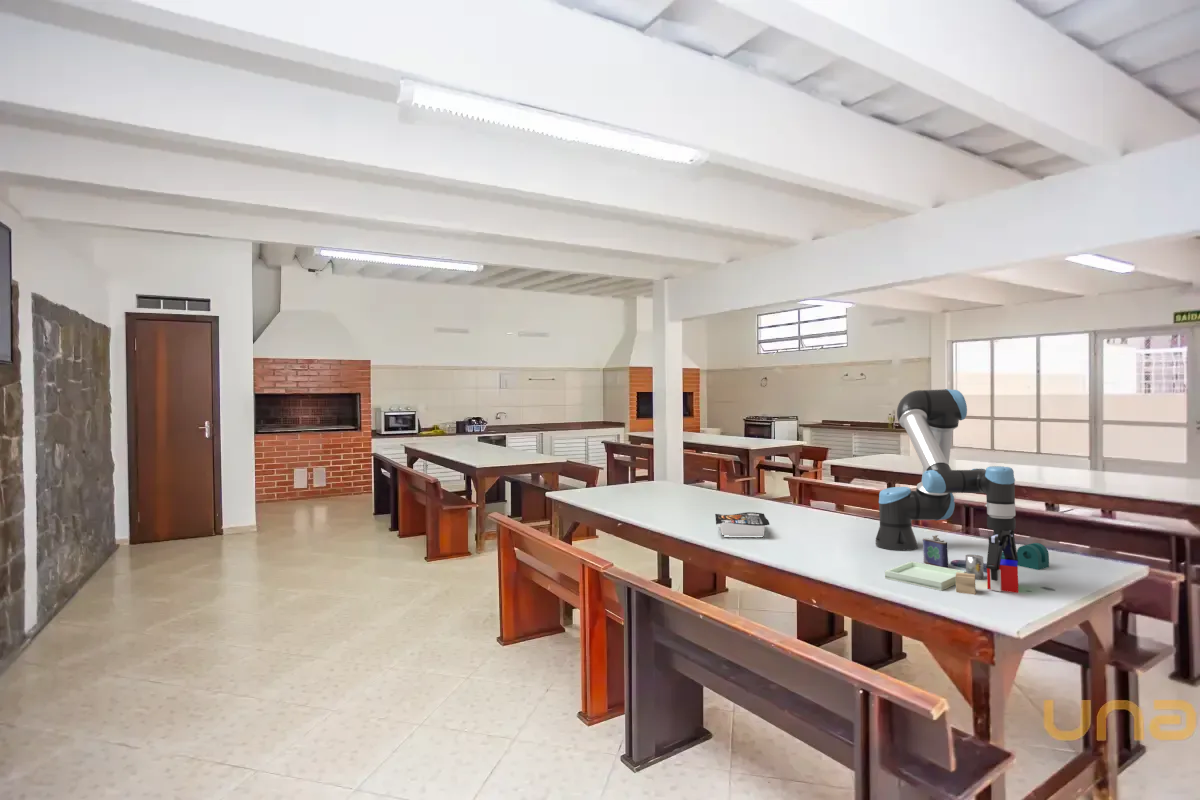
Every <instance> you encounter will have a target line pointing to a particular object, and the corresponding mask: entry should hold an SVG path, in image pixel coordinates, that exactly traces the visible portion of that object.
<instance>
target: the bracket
mask: <svg viewBox="0 0 1200 800" xmlns="http://www.w3.org/2000/svg"><path fill="white" fill-rule="evenodd" d="M1016 550H1017V556H1018V559H1017V560H1018V567H1023V568H1027V569H1031V570H1037V571H1039V570H1044V569H1048V568H1050V554H1049V551H1048V548H1047V547H1046V546H1045V545H1044V544H1041V543H1039V542H1033V543H1029V544H1025V545H1020V546H1019V547H1018V549H1016ZM1001 559H1005V556H1004V553H1003V552H1002V557H1001Z"/></svg>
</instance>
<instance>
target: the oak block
mask: <svg viewBox="0 0 1200 800" xmlns="http://www.w3.org/2000/svg"><path fill="white" fill-rule="evenodd" d="M955 593H959V594H967V595H976V580H975V574H968V573H959V572H956V584H955Z"/></svg>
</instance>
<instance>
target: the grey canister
mask: <svg viewBox="0 0 1200 800" xmlns="http://www.w3.org/2000/svg"><path fill="white" fill-rule="evenodd" d="M984 570H985V569H984V556H982V555H978V554H966V555H965V571H966V573H968V574H975V581H976V580H978V581H979V580H981V581H982V580H984V577H985V576H984V573H985V571H984Z"/></svg>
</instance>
